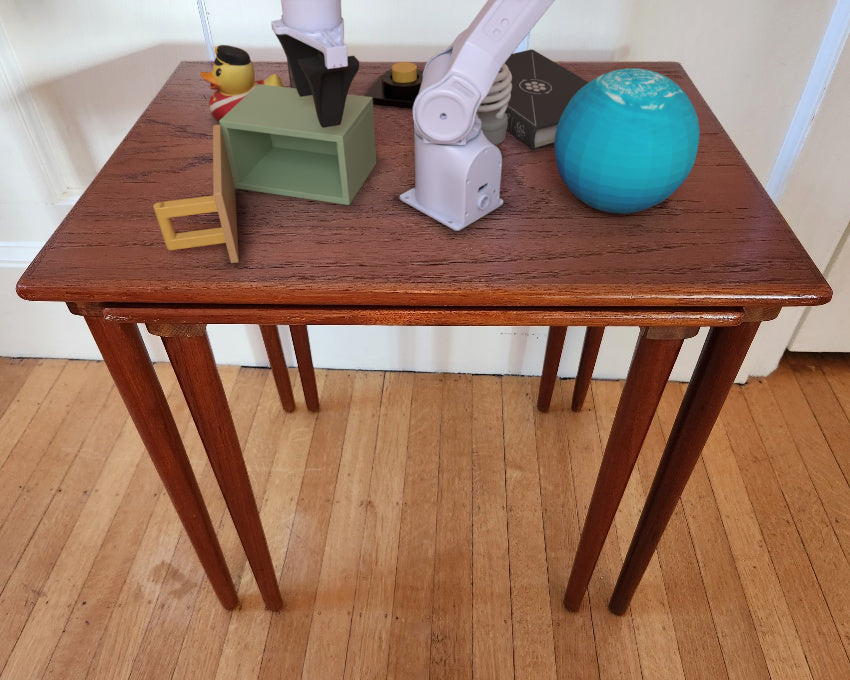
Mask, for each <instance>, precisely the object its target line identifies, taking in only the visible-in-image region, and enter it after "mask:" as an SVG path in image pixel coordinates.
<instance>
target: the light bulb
mask: <svg viewBox="0 0 850 680" xmlns="http://www.w3.org/2000/svg"><path fill="white" fill-rule="evenodd" d="M500 71H501V73H498V75H497V77H496V79H495V81H494V83H493V85H492V87H491V89H490V91H489V93H488V96H486V98H485V99H484V100H483V101H482V103H491V102H495V101H500V102H498V103H496V104H492V105H484V106H479V107H478V110H477V115H478V118H479V119H480V120H481V129H482V132H483V134H484V135H485V137H486V138H487V139H488V140H489V141H490V142H491V143H492V144H493V145H495V146H497V145H500V144H501V143H503V141H504V140H505V139H506V136H507V132H508V131H507V126H508V116H507V114H506V113H505V111H506V108H507V106H508V102H509V100H510V97H511V93H510V92H511V89H512V84H511V81H512V75H511V72H510V71H509V69H508V66H507V65H506V64H505V63H504V64H503V66H502V67H501V69H500ZM498 81H502V82H501V83H500V82H498ZM498 91H502V92H498ZM499 108H501V109H499Z"/></svg>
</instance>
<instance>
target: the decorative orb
mask: <svg viewBox="0 0 850 680" xmlns="http://www.w3.org/2000/svg"><path fill="white" fill-rule="evenodd" d="M588 82H589V83H587V84H586V85H585V86H584V87H582V88H581V89H580V90H579V91H578V92H577V93H576V94H575V95H574V96H573V97H572V99H571V100H570V102H569V103H568V105H567V107H566V108H565V110H564V112H563V114H562V116H561V118H560V120H559V123H558V125H557V129H556V133H555V142H554V145H553V147H554V148H553V149H554V155H555V161H556V167H557V170H558V173H559V176H560V178H561V179H562V181H563V183H564V184H565V186H566V187H567V189H568V190H569V191H570V192H571V193H572V195H573V196H574V197H575V198H576V199H578V200H580V201H581V202H582V203H584V204H586V205H587V206H588V207H590V208H592V209H595V210H598V211H599V212H605V213H610V214H620V215H621V214H622V215H626V214H632V213H633V214H635V213H639V212H642V211H645V210H646V211H647V210H649V209H651V208H653V207H656V206H657V205H659V204H661V203H663V202H664V201H666V200H667V199H669V197H670V196H672V195H673V194H674V193H675V192H676V191H677V190H678V189H679V188H680V187H681V186H682V185H683V183H684V182H686V180H687V178H688V177H689V175H690V173H691V172H692V169H693V166H694V164H695V162H696V160H697V159H696V158H697V154H698V151H699V150H698V149H699V144H700V138H701V135H700V134H701V128H700V123H699V122H700V121H699V118H698V115H697V112H696V108H695V107H694V105H693V103H692V101H691V99H690V98H689V96H688V94H687V93H686V92H685V91H684V89H683V88H682V87H681V86H680V85H678V84H677V83H676V82H675V81H673V80H672V79H671V78H669V77H668V76H666V75H665V74H663V73H662V74H661V73H659V72H656V71H653V70H650V69H646V68H640V67H639V68H634V67H633V68H632V67H631V68H628V67H627V68H619V69H615V70H611V71H609V72H606V73H603V74H600V75H599V76H597V77H595V78H593V79H592V80H591V81H588Z"/></svg>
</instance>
